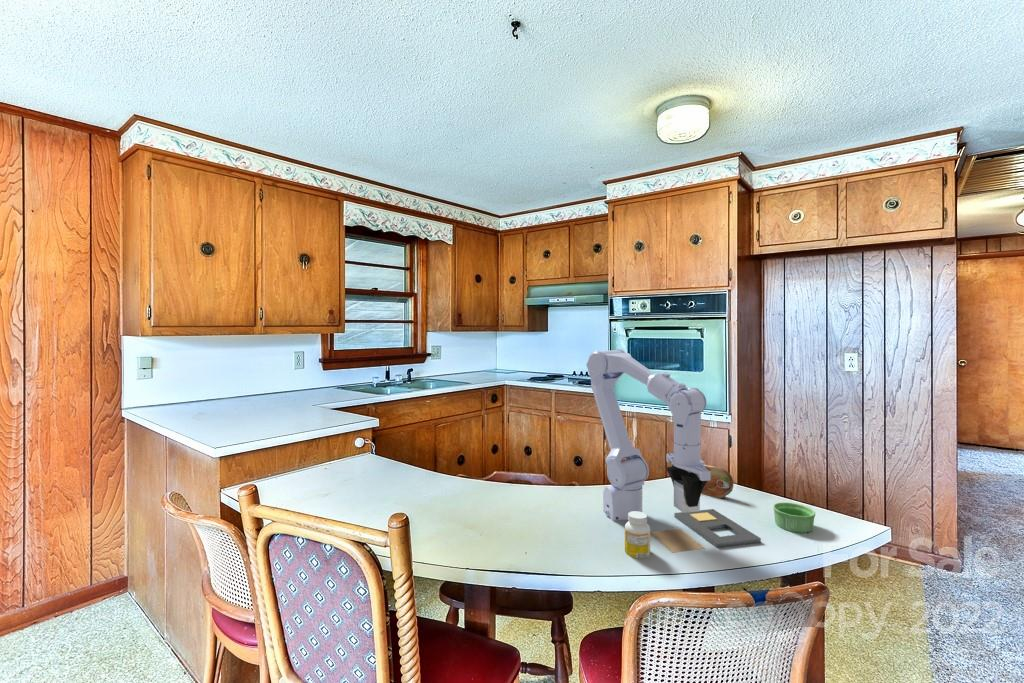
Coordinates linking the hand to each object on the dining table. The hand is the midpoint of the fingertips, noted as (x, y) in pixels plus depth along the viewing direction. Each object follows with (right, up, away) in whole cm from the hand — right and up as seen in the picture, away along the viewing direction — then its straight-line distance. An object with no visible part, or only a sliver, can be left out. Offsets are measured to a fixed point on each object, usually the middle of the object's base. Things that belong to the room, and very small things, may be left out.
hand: (686, 502), depth 108 cm
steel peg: (0, -1, 0) cm, 1 cm away
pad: (-3, -10, 0) cm, 10 cm away
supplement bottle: (-13, -11, -5) cm, 17 cm away
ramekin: (+30, -10, +10) cm, 33 cm away
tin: (+18, -9, +33) cm, 39 cm away
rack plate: (+9, -10, +5) cm, 14 cm away
